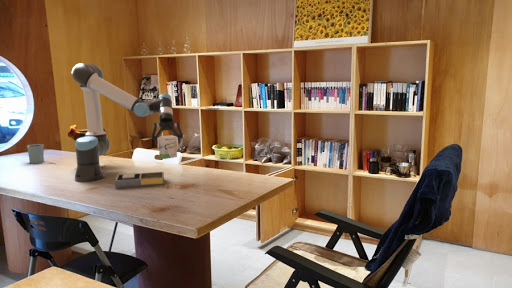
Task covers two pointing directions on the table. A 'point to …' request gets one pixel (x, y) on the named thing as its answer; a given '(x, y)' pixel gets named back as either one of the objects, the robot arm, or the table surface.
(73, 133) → the decorative vase
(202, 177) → the table surface
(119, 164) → the table surface
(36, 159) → the grey green cup
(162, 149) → the ink box
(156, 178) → the grey compartment tray
